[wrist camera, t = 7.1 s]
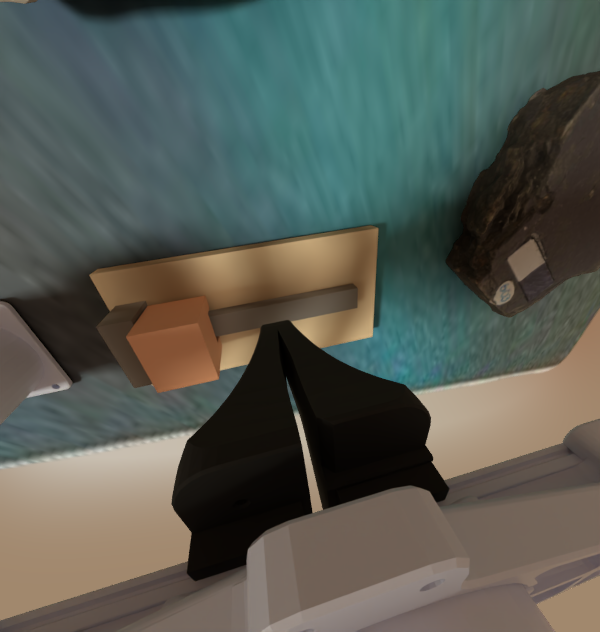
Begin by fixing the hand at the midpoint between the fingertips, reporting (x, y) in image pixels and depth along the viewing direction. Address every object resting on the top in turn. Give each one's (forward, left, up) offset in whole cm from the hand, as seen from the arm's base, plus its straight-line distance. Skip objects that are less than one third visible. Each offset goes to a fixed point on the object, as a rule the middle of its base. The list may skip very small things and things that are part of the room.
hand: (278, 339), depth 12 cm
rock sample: (+24, +1, -10) cm, 26 cm away
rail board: (-1, -3, -9) cm, 10 cm away
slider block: (-6, -3, -8) cm, 10 cm away
